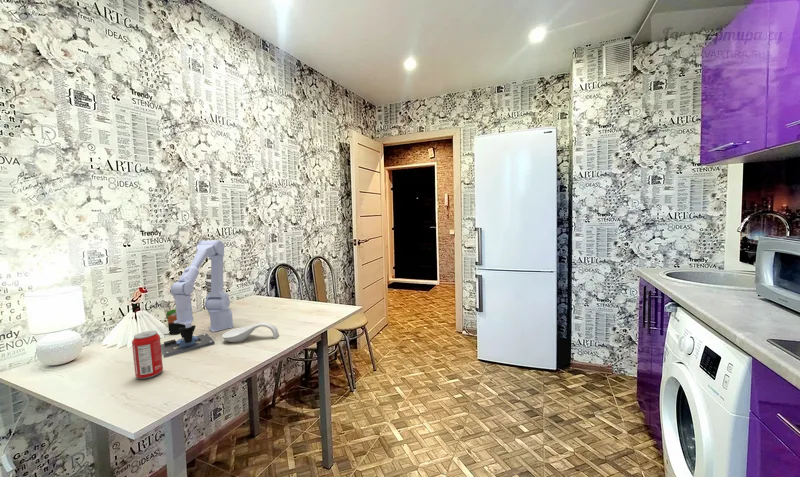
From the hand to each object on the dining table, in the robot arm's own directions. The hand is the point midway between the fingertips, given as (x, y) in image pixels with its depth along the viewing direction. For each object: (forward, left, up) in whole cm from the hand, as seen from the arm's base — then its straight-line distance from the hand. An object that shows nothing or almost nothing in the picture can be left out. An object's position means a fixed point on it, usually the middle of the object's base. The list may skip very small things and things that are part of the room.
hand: (186, 340), depth 143 cm
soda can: (+15, +21, -3) cm, 26 cm away
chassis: (0, 0, -3) cm, 3 cm away
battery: (0, -24, -3) cm, 24 cm away
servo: (0, 0, -3) cm, 3 cm away
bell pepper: (-2, -37, -3) cm, 37 cm away
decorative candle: (-22, -44, -3) cm, 49 cm away
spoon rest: (-22, +12, -3) cm, 26 cm away
